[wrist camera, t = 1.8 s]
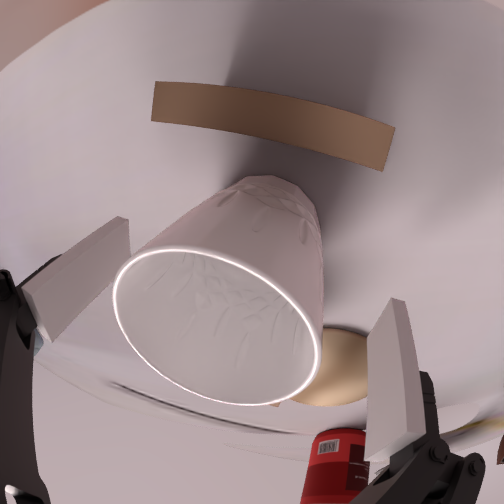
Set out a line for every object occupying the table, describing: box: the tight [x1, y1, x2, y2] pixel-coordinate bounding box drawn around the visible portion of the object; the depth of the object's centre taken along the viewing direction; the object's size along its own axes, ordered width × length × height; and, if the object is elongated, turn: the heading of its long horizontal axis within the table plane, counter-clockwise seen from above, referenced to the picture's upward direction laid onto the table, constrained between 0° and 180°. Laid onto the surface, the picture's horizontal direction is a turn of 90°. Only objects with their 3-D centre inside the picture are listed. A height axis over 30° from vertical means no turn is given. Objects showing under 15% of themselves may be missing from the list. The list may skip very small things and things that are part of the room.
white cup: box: [112, 175, 324, 406], centre depth 14 cm, size 8×8×10 cm
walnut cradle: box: [151, 81, 395, 407], centre depth 15 cm, size 8×16×7 cm, turn 170°
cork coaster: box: [289, 328, 368, 406], centre depth 23 cm, size 11×11×1 cm
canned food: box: [300, 428, 370, 504], centre depth 25 cm, size 8×8×11 cm
